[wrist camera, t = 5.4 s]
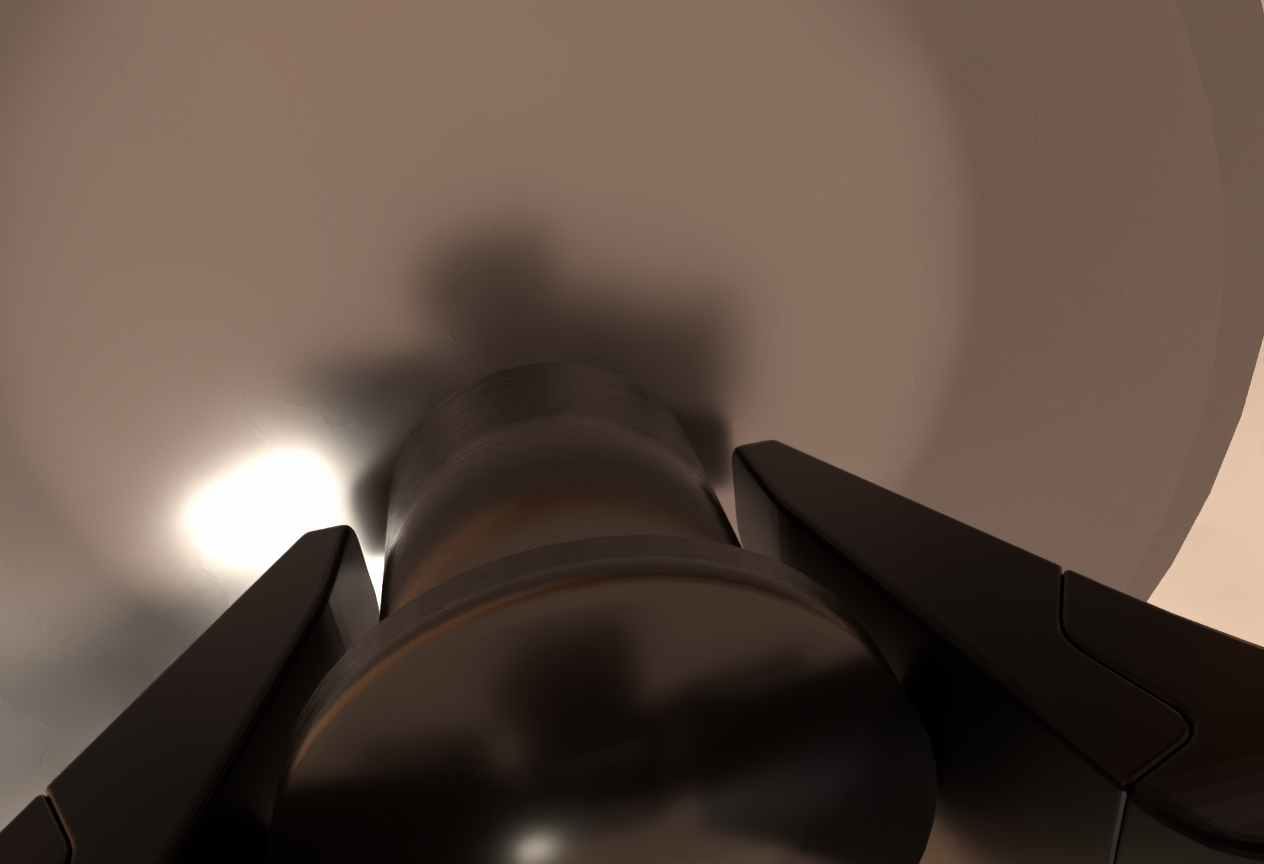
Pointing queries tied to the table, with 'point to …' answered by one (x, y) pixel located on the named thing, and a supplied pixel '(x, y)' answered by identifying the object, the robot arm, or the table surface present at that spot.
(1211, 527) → the table surface
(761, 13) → the lid
